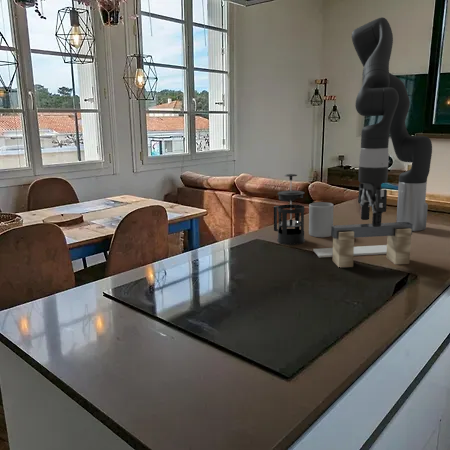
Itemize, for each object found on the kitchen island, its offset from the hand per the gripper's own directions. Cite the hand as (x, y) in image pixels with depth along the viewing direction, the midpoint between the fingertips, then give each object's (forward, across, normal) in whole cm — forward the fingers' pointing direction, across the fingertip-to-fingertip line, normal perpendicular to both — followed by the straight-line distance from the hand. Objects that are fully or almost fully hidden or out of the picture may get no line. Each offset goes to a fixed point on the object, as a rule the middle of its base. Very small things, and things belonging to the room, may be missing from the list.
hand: (370, 222), depth 119 cm
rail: (+4, 0, 0) cm, 4 cm away
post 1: (+12, 0, +8) cm, 14 cm away
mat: (+12, +10, 0) cm, 15 cm away
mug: (+12, +34, +5) cm, 36 cm away
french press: (+12, +26, +18) cm, 33 cm away
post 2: (+12, 0, -8) cm, 14 cm away
